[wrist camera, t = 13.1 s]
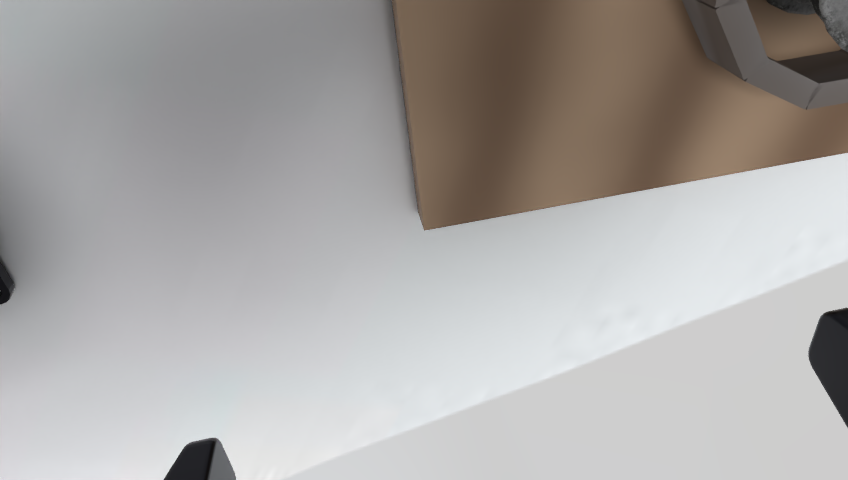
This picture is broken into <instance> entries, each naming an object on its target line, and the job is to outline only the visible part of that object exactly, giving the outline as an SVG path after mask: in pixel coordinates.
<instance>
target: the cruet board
mask: <svg viewBox="0 0 848 480" xmlns="http://www.w3.org/2000/svg"><path fill="white" fill-rule="evenodd" d="M392 7H393V15H394V23H395V31H396V39H397V47H398V55H399V63H400V71H401V79H402V87H403V95H404V103H405V110H406V118H407V126H408V134H409V142H410V150H411V158H412V166H413V174H414V182H415V190H416V198H417V206H418V213H419V216H420V219H421V222H422V225H423V228H424V230H430V229H435V228H441V227H446V226H452V225H457V224H462V223H468V222H473V221H479V220H484V219H490V218H495V217H500V216H506V215H511V214H517V213H522V212H528V211H533V210H538V209H544V208H549V207H555V206H560V205H566V204H571V203H576V202H582V201H587V200H593V199H598V198H604V197H609V196H614V195H620V194H625V193H631V192H636V191H642V190H647V189H652V188H658V187H663V186H669V185H674V184H680V183H685V182H690V181H696V180H701V179H707V178H712V177H718V176H723V175H728V174H734V173H739V172H745V171H750V170H756V169H761V168H766V167H772V166H777V165H783V164H788V163H794V162H799V161H804V160H810V159H815V158H821V157H826V156H832V155H837V154H842V153H848V52H847V51H845V50H843V49H841V48H840V47H839V45H838V44H837V43H836V42H835V41H834V39H833V38H832V37H831V36H830V35H829V33H828V32H827V30H826V27H825V24H824V22H823V21H822V20H821V19H820V17H819V16H818V15H817V14H816V13H815V14H809V15H803V14H794V13H787V12H785V11H783V10H781V9H779V8H777V7H775V6H773V5H771V4H769V3H768V2H767V1H766V0H392Z"/></svg>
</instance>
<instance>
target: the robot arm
mask: <svg viewBox="0 0 848 480" xmlns="http://www.w3.org/2000/svg"><path fill="white" fill-rule="evenodd" d="M14 288H15V287H14V284H13V282H12V280H11V278H10V277H9V275H8V273H7V272H6V270H5V269H4V267H3V265H2V264H1V262H0V304H3V303H6V302H7V301H8V300H9V299H10V297H11V295H12V293H13V292H14ZM809 360H810V363H811V365H812V368H813V369H814V371H815V373H816V375H817V376H818V378H819V380H820V381H821V383H822V385H823V387H824V388H825V390H826V392H827V393H828V395H829V397H830V398H831V400H832V402H833V404H834V405H835V407H836V409H837V410H838V412H839V414H840V416H841V417H842V419H843V420H844V422H845V424H846V426H847V427H848V308H843V309H838V310H833V311H829V312H826V313H824V314H823V315H822V316H821V317H820V319H819V322H818V324H817V327H816V330H815V333H814V336H813V339H812V342H811V344H810V347H809ZM164 480H236V477H235V473H234V470H233V468H232V466H231V464H230V461H229V459H228V457H227V455H226V453H225V450H224V448H223V446H222V444H221V442H220V441H219V440H218V439H217V438H209V439H204V440H199V441H194V442H191V443H189V444H187V445H186V446H185V447H184V449H183V450H182V452H181V453H180V455H179V456H178V458H177V459H176V461H175V463H174V464H173V466H172V467H171V469H170V470H169V472H168V474H167V475H166V477H165V478H164Z"/></svg>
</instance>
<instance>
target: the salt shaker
mask: <svg viewBox="0 0 848 480" xmlns="http://www.w3.org/2000/svg"><path fill="white" fill-rule="evenodd" d="M766 1H767V2H768V3H769V4H771V5H773V6H775V7H777V8H779V9H781V10H783V11H785V12H787V13H794V14H803V15H809V14H815V13H816V14H817V15H818V16H819V17H820V19H821V20H822V21H823V22H824V24H825V27H826V30H827V32H828V33H829V35H830V36H831V37H832V38H833V39H834V41H835V42H836V43H837V44H838V45H839V47H840V48H841V49H843V50H845V51H847V52H848V0H766Z"/></svg>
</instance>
